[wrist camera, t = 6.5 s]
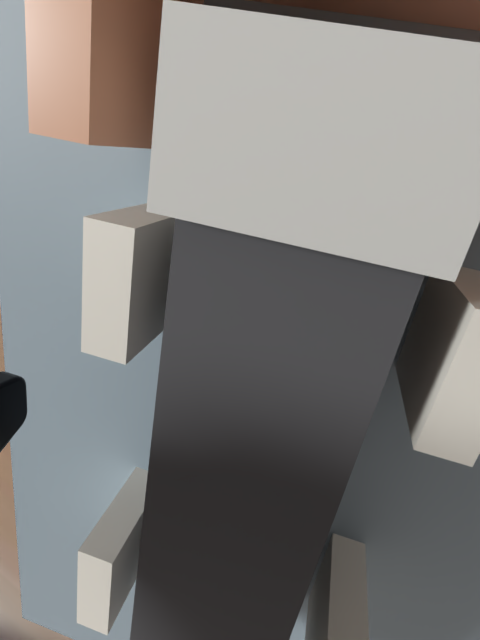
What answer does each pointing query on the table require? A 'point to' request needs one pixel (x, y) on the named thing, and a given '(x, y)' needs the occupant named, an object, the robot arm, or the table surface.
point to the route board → (141, 386)
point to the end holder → (143, 60)
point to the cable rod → (286, 289)
